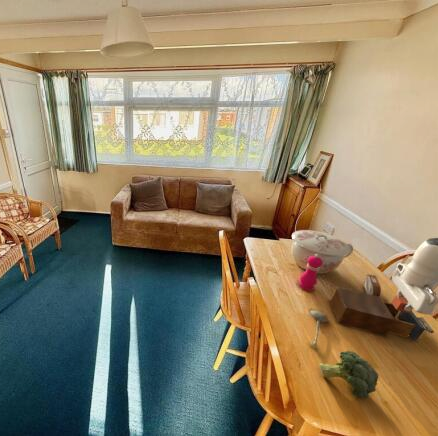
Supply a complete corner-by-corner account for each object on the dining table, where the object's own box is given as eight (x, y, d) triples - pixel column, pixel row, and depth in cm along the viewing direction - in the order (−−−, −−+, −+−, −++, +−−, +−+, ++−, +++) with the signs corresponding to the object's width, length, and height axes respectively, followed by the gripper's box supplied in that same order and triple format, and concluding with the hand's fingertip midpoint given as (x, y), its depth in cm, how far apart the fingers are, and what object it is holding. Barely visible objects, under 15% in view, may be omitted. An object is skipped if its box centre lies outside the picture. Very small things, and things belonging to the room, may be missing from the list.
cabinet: (371, 311, 104) (380, 296, 100) (385, 336, 92) (395, 320, 89) (330, 301, 109) (337, 286, 106) (338, 323, 98) (346, 307, 94)
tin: (376, 304, 108) (384, 290, 104) (367, 301, 109) (375, 288, 105) (369, 285, 119) (376, 272, 116) (361, 283, 121) (367, 270, 117)
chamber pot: (277, 264, 136) (286, 234, 127) (293, 247, 152) (302, 219, 144) (334, 289, 117) (349, 255, 108) (345, 266, 134) (359, 236, 125)
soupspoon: (327, 317, 102) (310, 310, 106) (329, 311, 100) (312, 305, 104) (323, 352, 86) (303, 343, 90) (326, 346, 85) (305, 336, 89)
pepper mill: (313, 284, 120) (325, 253, 111) (314, 293, 114) (327, 260, 106) (297, 280, 123) (308, 249, 115) (297, 288, 118) (309, 256, 109)
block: (404, 306, 93) (409, 298, 91) (409, 313, 90) (414, 305, 88) (391, 303, 95) (396, 295, 93) (396, 309, 91) (401, 302, 90)
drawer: (414, 321, 98) (422, 309, 94) (432, 346, 87) (442, 333, 84) (358, 307, 105) (364, 295, 102) (369, 328, 94) (376, 316, 91)
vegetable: (315, 346, 86) (367, 349, 78) (325, 387, 81) (382, 394, 73) (314, 352, 77) (373, 356, 69) (326, 398, 72) (391, 408, 64)
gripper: (451, 299, 76) (429, 327, 82) (416, 264, 93) (400, 290, 99) (425, 293, 78) (405, 321, 84) (396, 261, 95) (381, 286, 101)
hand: (402, 304), depth 91 cm, fingers closed on block, 4 cm apart
